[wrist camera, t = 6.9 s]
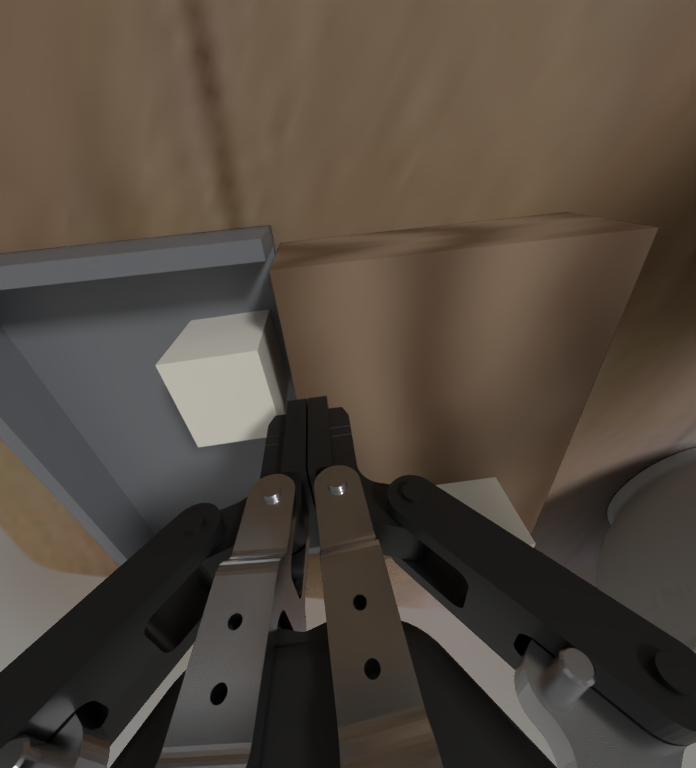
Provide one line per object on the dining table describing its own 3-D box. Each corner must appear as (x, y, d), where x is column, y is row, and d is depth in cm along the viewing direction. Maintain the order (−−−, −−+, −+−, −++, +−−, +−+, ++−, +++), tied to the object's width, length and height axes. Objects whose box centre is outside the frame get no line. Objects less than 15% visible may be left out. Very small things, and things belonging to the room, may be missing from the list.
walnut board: (567, 212, 16) (658, 227, 12) (496, 481, 27) (529, 538, 23) (280, 243, 15) (269, 270, 11) (329, 503, 26) (332, 566, 22)
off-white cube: (495, 477, 19) (535, 543, 15) (483, 522, 21) (516, 588, 18) (418, 487, 18) (442, 556, 15) (415, 532, 21) (435, 600, 18)
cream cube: (257, 350, 13) (155, 365, 13) (282, 434, 15) (198, 447, 15) (269, 309, 16) (190, 320, 16) (288, 382, 19) (220, 392, 19)
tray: (270, 225, 15) (260, 238, 12) (326, 510, 27) (328, 551, 24) (-54, 259, 14) (-147, 282, 11) (151, 534, 26) (132, 579, 23)
